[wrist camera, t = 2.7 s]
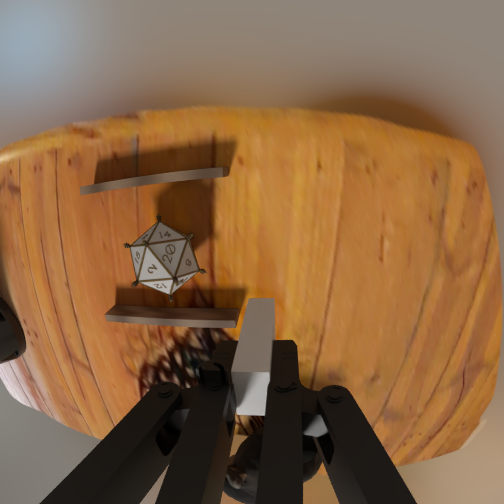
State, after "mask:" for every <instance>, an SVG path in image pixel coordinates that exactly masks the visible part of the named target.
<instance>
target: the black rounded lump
mask: <svg viewBox="0 0 504 504" xmlns="http://www.w3.org/2000/svg"><path fill="white" fill-rule="evenodd" d="M263 429H264V426H262V427H257V428H256V429H255V431H254V432H253V434H251V435H250V436H249V437H247V439H245V440H244V441H243V442H242V444H241V445H240V446H239V448H238V451H237V452H236V454H235V455H232V456H231V457H230V458H229V462H228V467H227V472H226V477H225V482H224V487H223V491H224V492H225V493H226V494H227V495H228V496H229V497H232V498H233V499H235V500H237V501H239V502H242V503H245V504H255V501H256V493H257V484H258V476H259V467H260V458H261V448H262V439H263ZM302 446H303V483H304V482H305V481H308V480H309V479H311V478H312V477H313V476H314V475H315V474H316V473H317V471H318V470H319V468H320V466H321V464H322V459H321V456H320V454H319V451H318V449H317V446H316V444H315V441H314V439H313V436H310V435H305V434H302Z"/></svg>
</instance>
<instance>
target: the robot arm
mask: <svg viewBox="0 0 504 504" xmlns="http://www.w3.org/2000/svg"><path fill="white" fill-rule="evenodd" d="M25 349H26V343H25V338H24V335H23V332H22V329H21V327H20V325H19V323H18V321H17V319H16V317H15V315H14V314H13V312H12V311H11V309H10V308H9V307H8V305H7V304H6V303H5V302H4V301H3V300H2V299H1V298H0V364H2V363H5V362H8V361H11V360H14V359H17V358H19V357H20V356H21V355H22V354H23V353H24V352H25ZM195 370H196V374H197V379H198V383H199V384H198V385H197V386H195V387H191V388H184V389H180V388H179V387H178V385H177V384H175V383H173V382H161V383H158V384H156V385H155V386H153V387H152V388H151V389H150V390H149V391H148V392H147V393H146V394H145V396H144V397H143V398H142V399H141V400H140V401H139V402H138V403H137V404H136V405H135V406H134V407H133V408H132V409H131V410H130V412H129V413H128V414H127V415H126V416H125V417H124V418H123V419H122V420H121V421H120V422H119V423H118V424H117V425H116V426H115V427H114V428H113V429H112V430H111V431H110V433H109V434H108V435H107V436H106V437H105V438H104V439H103V440H102V441H101V442H100V443H99V444H98V445H97V446H96V447H95V448H94V449H93V450H92V451H91V452H90V453H89V454H88V455H87V457H85V458H84V459H83V461H82V462H81V463H80V464H79V465H78V466H77V467H76V468H75V469H74V470H73V471H72V472H71V473H70V474H69V475H68V476H67V477H66V478H65V479H64V480H63V481H62V482H61V483H60V484H59V485H58V486H57V487H56V488H55V489H54V490H53V491H52V492H51V493H50V494H49V495H48V496H47V497H46V498H45V499H44V500H43V501H42V502H41V503H40V504H140V502H141V501H142V500H143V498H144V497H145V496H146V494H147V493H148V492H149V490H150V489H151V488H152V486H153V485H154V484H155V482H156V481H157V480H158V478H159V477H160V475H161V474H162V473H163V471H164V470H165V469H166V467H167V466H168V465H169V466H168V469H167V472H166V475H165V478H164V480H163V483H162V486H161V489H160V491H159V494H158V497H157V500H156V503H155V504H220V502H221V497H222V492H223V487H224V482H225V477H226V472H227V467H228V462H229V456H230V451H231V446H232V441H233V436H234V430H235V425H236V421H235V413H236V410H237V415H259V416H265V418H264V429H263V439H262V448H261V458H260V467H259V476H258V484H257V493H256V501H255V504H303V446H302V434H305V435H310V436H313V439H314V441H315V444H316V446H317V449H318V451H319V454H320V456H321V459H322V461H323V464H324V466H325V469H326V471H327V474H328V476H329V479H330V481H331V484H332V486H333V489H334V491H335V493H336V496H337V498H338V501H339V503H340V504H417V503H416V501H415V499H414V498H413V496H412V495H411V493H410V491H409V489H408V488H407V486H406V484H405V483H404V481H403V479H402V477H401V476H400V474H399V472H398V471H397V469H396V467H395V466H394V464H393V462H392V461H391V459H390V457H389V456H388V454H387V452H386V451H385V449H384V447H383V446H382V444H381V442H380V441H379V439H378V437H377V436H376V434H375V432H374V431H373V429H372V427H371V426H370V424H369V422H368V421H367V419H366V417H365V416H364V414H363V413H362V411H361V409H360V408H359V406H358V404H357V403H356V401H355V399H354V398H353V396H352V394H351V393H350V392H349V391H348V389H347V388H344V387H342V386H338V385H331V386H327V387H324V388H323V389H322V390H321V391H320V392H319V391H314V390H310V389H308V388H306V387H304V386H303V385H302V384H301V383H300V380H299V369H298V352H297V345H296V344H295V342H294V341H293V340H275V302H274V298H251V299H249V300H248V304H247V308H246V312H245V316H244V320H243V324H242V329H241V333H240V337H239V341H227V340H223V341H222V342H221V343H220V344H219V345H218V346H217V348H216V351H215V354H214V356H213V359H212V361H206V362H203V363H201V364H200V365H198V366H197V368H196V369H195ZM169 463H170V464H169Z"/></svg>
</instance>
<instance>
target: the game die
mask: <svg viewBox="0 0 504 504" xmlns="http://www.w3.org/2000/svg"><path fill="white" fill-rule="evenodd" d="M157 220H158V222H157V223H156V224H154V225H153V226H152V227H151V228H150V229H149V230H147V231H146V232H145V233H144V234H143V235H142V236H141V237H139V238H138V239H137V240H136V241H135V242H134V243H133V244H132V245H129V244H127V243H126V244H123V245H124V246H125V248H130V251H131V256H132V261H133V266H134V271H135V275H136V281H134V282H133V283H132V287H136V286H137V285H138V283H140V284H143V285H145V286H148V287H150V288H153V289H155V290H158V291H160V292H163V293H165V294H168V295H169V297H168V298H169V299H168V300H170V301H171V302H172V300H173V296H172V294H173V293H174V292H175V291H176V290H177V289H178V288H180V287H181V286H182V285H183V284H184V283H186V282H187V281H188V280H189V279H190V278H191V277H193V276H194V275H195V274H196V273H197V272H201V273H203V274H204V273H207V272H206V271H205V270H204V269H200V268H199V266H198V263H197V259H196V256H195V253H194V250H193V247H192V244H191V241H190V240H191V238H193V234H194V233H190V234H189V235H187V236H186V235H185V234H183V233H181V232H179V231H177V230H176V229H174V228H172V227H170V226H169V225H167V224H165V223H163V222H161V216H160V215H159V213H158V215H157Z"/></svg>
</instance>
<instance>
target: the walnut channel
mask: <svg viewBox="0 0 504 504" xmlns="http://www.w3.org/2000/svg"><path fill="white" fill-rule="evenodd" d="M226 176H228V167H218V168H207V169H197V170H187V171H178V172H170V173H162V174H155V175H148V176H141V177H134V178H128V179H122V180H116V181H110V182H104V183H99V184H93V185H88V186H83V187H80V194H81V195H85V194H90V193H96V192H102V191H108V190H114V189H121V188H128V187H135V186H142V185H150V184H158V183H166V182H175V181H184V180H194V179H205V178H217V177H226ZM105 317H106V320H107V321H113V322H123V323H135V324H149V325H164V326H183V327H211V328H236V325H237V322H238V318H239V308H172V307H146V306H127V305H114V306H113V307H112V308H111V309H110V310H109V311H108V312H107V313H106V314H105Z"/></svg>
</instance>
